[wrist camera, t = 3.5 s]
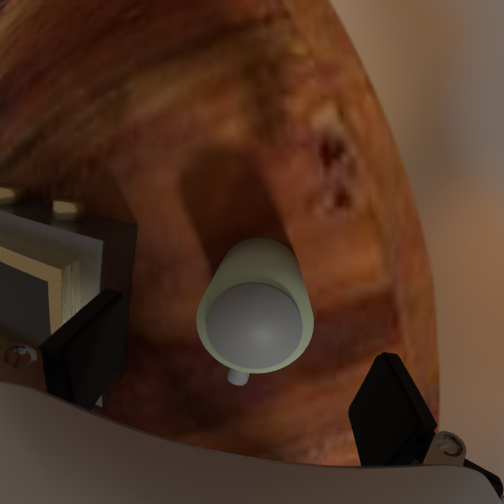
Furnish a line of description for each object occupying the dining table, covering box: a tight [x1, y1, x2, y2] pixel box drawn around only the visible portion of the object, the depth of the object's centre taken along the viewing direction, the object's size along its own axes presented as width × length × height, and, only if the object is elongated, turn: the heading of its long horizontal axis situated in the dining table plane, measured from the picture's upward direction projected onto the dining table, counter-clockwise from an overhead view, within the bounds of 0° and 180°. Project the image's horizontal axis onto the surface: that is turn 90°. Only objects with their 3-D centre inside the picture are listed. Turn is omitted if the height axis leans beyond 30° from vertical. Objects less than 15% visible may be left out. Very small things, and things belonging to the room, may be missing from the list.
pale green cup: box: [196, 237, 314, 385], centre depth 18 cm, size 6×8×7 cm
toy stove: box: [0, 183, 138, 407], centre depth 19 cm, size 16×14×7 cm
